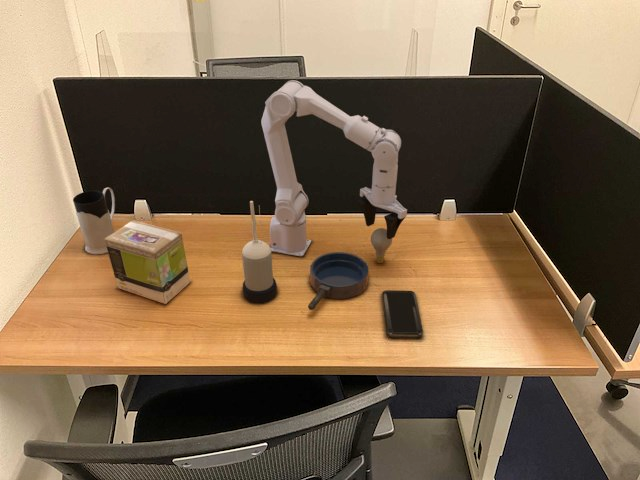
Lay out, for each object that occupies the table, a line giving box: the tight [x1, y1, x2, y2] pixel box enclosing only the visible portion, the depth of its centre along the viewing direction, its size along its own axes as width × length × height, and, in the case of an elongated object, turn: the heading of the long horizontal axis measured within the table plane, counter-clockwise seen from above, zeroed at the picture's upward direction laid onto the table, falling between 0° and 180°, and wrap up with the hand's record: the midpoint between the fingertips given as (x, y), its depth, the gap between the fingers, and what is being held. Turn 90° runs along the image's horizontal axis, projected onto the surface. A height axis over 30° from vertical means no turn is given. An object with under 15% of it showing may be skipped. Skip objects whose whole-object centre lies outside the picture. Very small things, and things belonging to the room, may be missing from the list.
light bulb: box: [370, 227, 393, 264], centre depth 130 cm, size 6×6×10 cm
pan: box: [309, 251, 369, 300], centre depth 125 cm, size 14×14×4 cm
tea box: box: [105, 219, 191, 305], centre depth 121 cm, size 15×10×15 cm, turn 65°
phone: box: [381, 289, 424, 339], centre depth 115 cm, size 8×1×15 cm
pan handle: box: [307, 284, 331, 311], centre depth 117 cm, size 9×2×2 cm, turn 153°
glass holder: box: [72, 187, 116, 255], centre depth 138 cm, size 9×14×15 cm, turn 167°
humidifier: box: [241, 200, 278, 305], centre depth 116 cm, size 8×8×25 cm
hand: (380, 231), depth 128 cm, fingers open, 7 cm apart
